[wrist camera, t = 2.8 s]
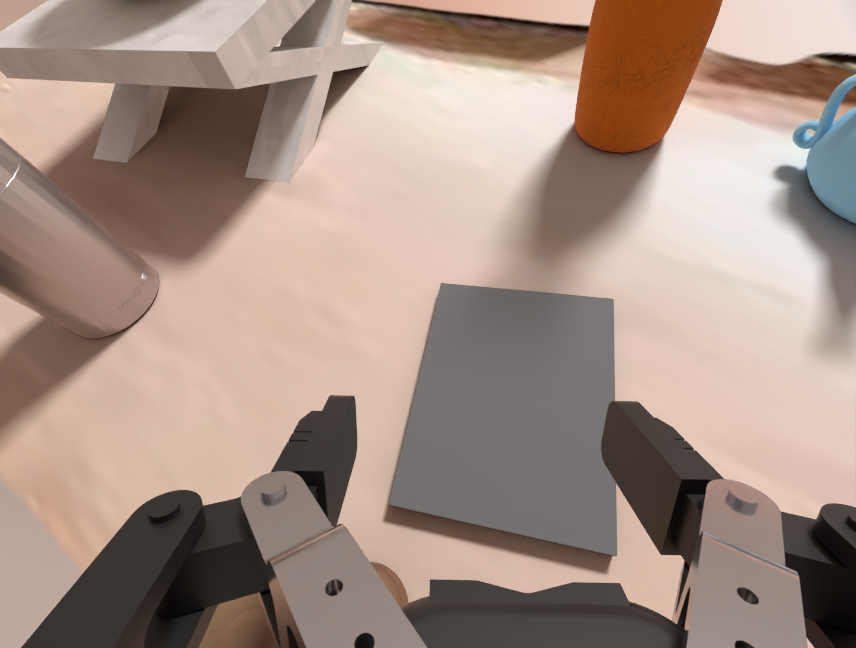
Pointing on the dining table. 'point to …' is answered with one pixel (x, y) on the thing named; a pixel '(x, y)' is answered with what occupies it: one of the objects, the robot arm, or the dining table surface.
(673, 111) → the wine bottle
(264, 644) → the pepper mill
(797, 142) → the teapot
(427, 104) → the dining table surface
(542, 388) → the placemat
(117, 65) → the white x-leg bench
